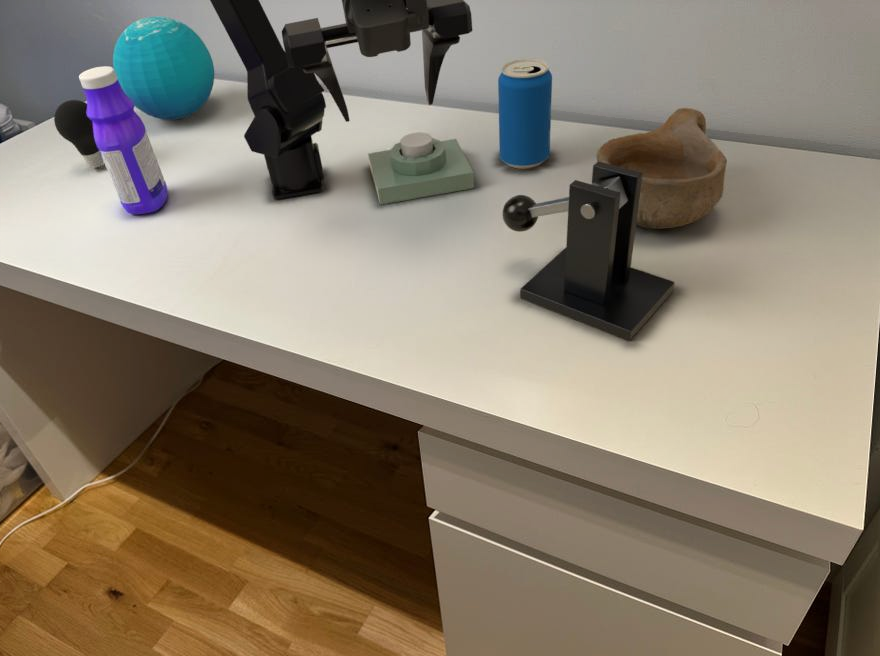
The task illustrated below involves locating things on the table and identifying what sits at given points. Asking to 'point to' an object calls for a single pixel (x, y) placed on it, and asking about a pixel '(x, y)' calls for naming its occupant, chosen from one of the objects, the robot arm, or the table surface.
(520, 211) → the ball knob lever
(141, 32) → the decorative orb
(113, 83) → the bottle
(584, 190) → the lever bracket
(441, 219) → the table surface
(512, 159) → the beverage can
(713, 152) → the bowl
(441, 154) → the button block
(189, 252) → the table surface
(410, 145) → the flush button
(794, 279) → the table surface
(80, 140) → the light bulb
